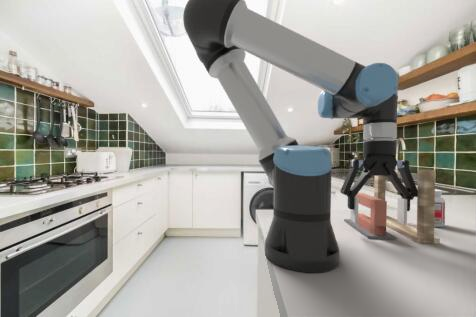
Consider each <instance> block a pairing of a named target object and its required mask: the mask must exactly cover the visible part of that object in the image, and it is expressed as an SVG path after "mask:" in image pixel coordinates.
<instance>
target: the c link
mask: <svg viewBox="0 0 476 317" xmlns="http://www.w3.org/2000/svg"><path fill="white" fill-rule="evenodd" d="M355 197H357V198H358V205H362V206H363V207H366V208H368V209H370V214H371V218H370V216H368V215H366V214H365V213H359V212H358V223H357V224H358V225H360V226H361V227H363V228H364V229H366V230H367V231H369V232H370V233H372V234H373V235H384V236H386V231H387V226H386V215H387V214H388V213H387V210H388V208H387V207H388V206H387V204H388V203H387V202H388V201H387V200H385V201H384V200H381V199H378V198H375V197H374V196H373V195H369V194H366V193H364V192H360V193H359V192H358V194H357V195H356V196H355ZM387 216H388V215H387Z"/></svg>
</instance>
